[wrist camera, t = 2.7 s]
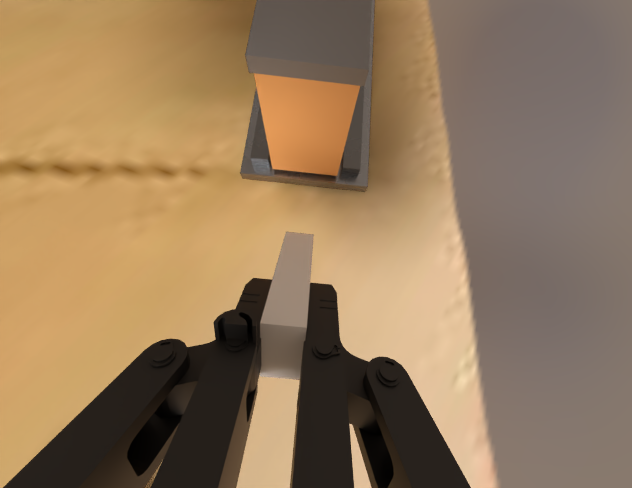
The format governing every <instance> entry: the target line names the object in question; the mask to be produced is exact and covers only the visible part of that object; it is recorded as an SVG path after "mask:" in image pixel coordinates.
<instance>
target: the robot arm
mask: <svg viewBox="0 0 632 488" xmlns="http://www.w3.org/2000/svg"><path fill="white" fill-rule="evenodd" d="M313 236H314V235H313V234H304V233H294V232H286V234H285V237H284V241H283V244H282V248H281V251H280V255H279V258H278V262H277V265H276V269H275V272H274V276H273V279H272V280H269V279H259V278H253V279H252V280H251V281H249V282H248V283H247V284H246V285H245V288H244V290H243V292H242V295H241V297H240V300H239V302H238V304H237V307H236V309H234V310H230V311H227V312H224V313H223V314H221V315H220V316H218V317H217V319H216V320H215V321H214V329H215V337H216V340H214V341H212V342H210V343H207V344H203V345H198V346H192V347H187V346H186V345H185V343H184V342H182V341H180V340H178V339H166V340H161V341H159V342H157V343H154V344H152V345H151V346H150V347H148V348H147V349H146V350H144V351H143V352H142V353H141V354H140V355H139V356H138V357H137V358H136V359H135V360H134V361H133V362H132V363H131V364H130V365H129V366H128V367H127V368H126V369H125V370H124V371H123V372H122V373H121V374H120V375H119V376H118V377H117V378H116V379H115V380H113V381H112V382H111V383H110V384H109V385H108V386H107V387H106V388H105V389H104V390H103V391H102V392H101V393H100V394H99V395H98V396H97V397H96V398H95V399H94V400H93V401H92V402H91V403H90V404H89V405H88V406H87V407H86V408H85V409H84V410H83V411H82V412H81V413H79V414H78V415H77V416H76V417H75V418H74V419H73V420H72V421H71V422H70V423H69V424H68V425H67V426H66V427H65V428H64V429H63V430H62V431H61V432H60V433H59V434H58V435H57V436H56V437H55V438H54V439H53V440H52V441H51V442H50V443H49V444H48V445H47V446H46V447H44V448H43V449H42V450H41V451H40V452H39V453H38V454H37V455H36V456H35V457H34V458H33V459H32V460H31V461H30V462H29V463H28V464H27V465H26V466H25V467H24V468H23V469H22V470H21V471H20V472H19V473H18V474H17V475H16V476H15V477H14V478H13V479H12V480H10V481H9V482H8V483H7V484H6V485H5V486H4V487H3V488H145V486H146V484H147V483H148V481H149V480H150V478H151V477H152V475H153V474H154V472H155V471H156V469H157V468H158V466H159V465H160V463H161V462H162V464H161V466H160V468H159V470H158V473H157V475H156V477H155V479H154V482H153V484H152V486H151V488H236V486H237V481H238V477H239V472H240V468H241V463H242V459H243V454H244V450H245V445H246V441H247V436H248V432H249V427H250V423H251V418H252V414H253V409H254V405H255V400H256V396H257V382H258V378H259V374H260V376H262V377H274V378H285V379H297V380H300V383H299V393H298V401H297V414H296V426H295V437H294V448H293V460H292V471H291V482H290V488H354V480H353V467H352V454H351V441H350V428H349V423H350V424H352V425H353V427H354V430H355V434H356V437H357V440H358V444H359V447H360V450H361V454H362V457H363V460H364V463H365V467H366V470H367V473H368V477H369V480H370V483H371V487H372V488H471V487H470V485H469V484H468V482H467V480H466V478H465V476H464V475H463V473H462V471H461V469H460V467H459V466H458V464H457V462H456V460H455V458H454V456H453V455H452V453H451V451H450V449H449V447H448V446H447V444H446V442H445V440H444V438H443V437H442V435H441V433H440V431H439V429H438V427H437V426H436V424H435V422H434V420H433V418H432V417H431V415H430V413H429V411H428V409H427V408H426V406H425V404H424V402H423V400H422V399H421V397H420V395H419V393H418V391H417V389H416V388H415V386H414V384H413V382H412V380H411V379H410V377H409V375H408V373H407V372H406V370H405V369H404V368H403V367H402V365H400V364H399V363H398V362H396V361H395V360H393V359H390V358H388V357H377V358H374V359H372V360H371V361H370V362H368V361H365V360H362V359H360V358H357V357H355V356H353V355H351V354H350V353H349V352H348V351H346V349H345V348H344V347H343V345H342V343H341V341H340V336H339V321H338V306H337V293H336V291H335V289H334V288H333V286H332V285H328V284H318V283H310V277H311V264H312V250H313ZM162 460H163V461H162Z"/></svg>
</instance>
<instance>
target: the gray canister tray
mask: <svg viewBox="0 0 632 488" xmlns="http://www.w3.org/2000/svg"><path fill="white" fill-rule="evenodd" d="M374 5H375V0H372V9H371V33H370V57H369V72H368V75H367V79H366V82H365V86H360V89H359V93H358V97H357V101H356V104H355V108H354V112H353V116H352V120H351V124H350V128H349V132H348V136H347V140H346V143H345V147H344V151H343V155H342V159H341V163H340V167H339V171H338V175H337V176H334V175H324V174H315V173H306V172H296V171H287V170H278V169H272V164H271V158H270V153H269V148H268V143H267V138H266V133H265V128H264V123H263V118H262V112H261V107H260V102H259V97H258V92H257V87H256V92H255V97H254V102H253V108H252V113H251V118H250V124H249V129H248V134H247V140H246V145H245V150H244V156H243V161H242V166H241V172H240V174H241V176H242V178H243V179H251V180H261V181H270V182H280V183H289V184H298V185H308V186H317V187H327V188H336V189H346V190H355V191H364V192H365V191H366V189H367V187H368V164H369V137H370V111H371V84H372V58H373V32H374Z"/></svg>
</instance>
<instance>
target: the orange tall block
mask: <svg viewBox="0 0 632 488" xmlns="http://www.w3.org/2000/svg"><path fill="white" fill-rule="evenodd" d="M371 9H372V0H257V2H256V7H255V11H254V16H253V21H252V26H251V30H250V35H249V40H248V44H247V49H246V54H245V56H246V61H247V65H248V70H249V73H254V77H255V82H256V87H257V92H258V97H259V102H260V107H261V112H262V118H263V123H264V128H265V133H266V138H267V143H268V148H269V153H270V158H271V164H272V169H278V170H287V171H296V172H306V173H315V174H324V175H334V176H337V175H338V171H339V167H340V163H341V159H342V155H343V151H344V147H345V143H346V140H347V136H348V132H349V128H350V124H351V120H352V116H353V112H354V108H355V104H356V101H357V97H358V93H359V89H360V86H365V82H366V79H367V75H368V72H369V57H370V33H371Z"/></svg>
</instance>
